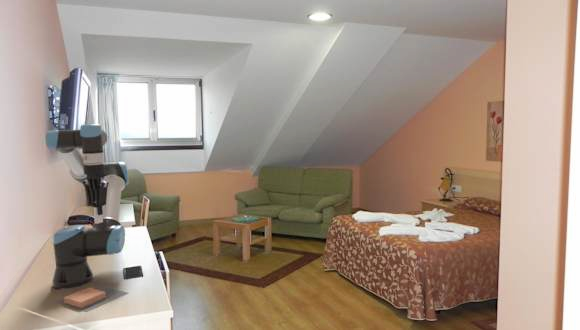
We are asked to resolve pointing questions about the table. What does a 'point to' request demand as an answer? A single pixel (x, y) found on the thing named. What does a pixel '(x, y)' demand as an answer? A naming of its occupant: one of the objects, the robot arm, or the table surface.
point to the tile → (84, 297)
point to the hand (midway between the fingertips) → (98, 222)
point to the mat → (110, 296)
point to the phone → (132, 272)
